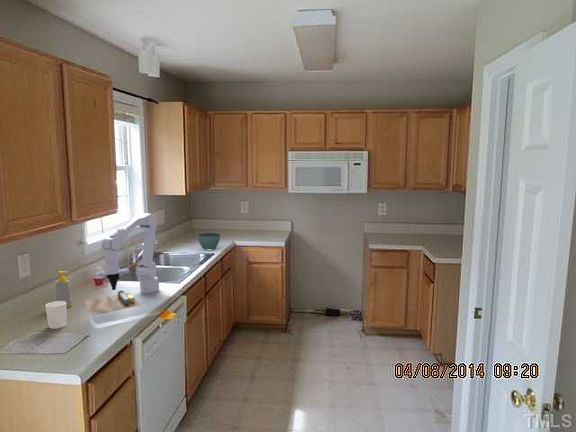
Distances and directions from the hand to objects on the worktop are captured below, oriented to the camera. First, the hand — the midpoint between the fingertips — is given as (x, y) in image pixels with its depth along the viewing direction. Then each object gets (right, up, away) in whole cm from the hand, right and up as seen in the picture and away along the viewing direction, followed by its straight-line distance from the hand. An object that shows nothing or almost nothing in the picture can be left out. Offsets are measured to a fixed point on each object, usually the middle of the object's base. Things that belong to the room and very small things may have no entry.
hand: (113, 289), depth 195 cm
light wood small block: (+6, -7, +5) cm, 11 cm away
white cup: (-16, -12, -21) cm, 29 cm away
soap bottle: (-26, -9, +4) cm, 28 cm away
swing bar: (+2, -7, +6) cm, 9 cm away
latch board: (-3, -9, +4) cm, 10 cm away
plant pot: (+20, +8, +136) cm, 138 cm away
